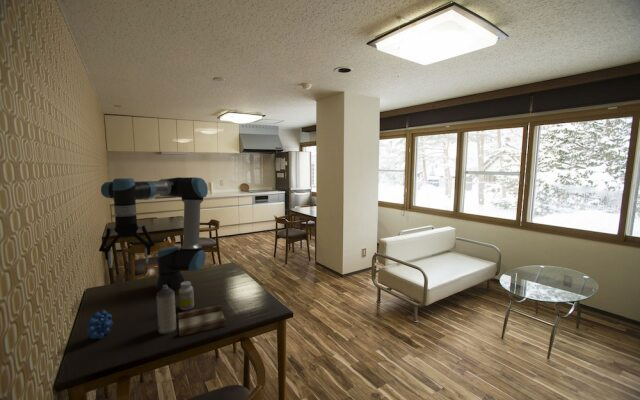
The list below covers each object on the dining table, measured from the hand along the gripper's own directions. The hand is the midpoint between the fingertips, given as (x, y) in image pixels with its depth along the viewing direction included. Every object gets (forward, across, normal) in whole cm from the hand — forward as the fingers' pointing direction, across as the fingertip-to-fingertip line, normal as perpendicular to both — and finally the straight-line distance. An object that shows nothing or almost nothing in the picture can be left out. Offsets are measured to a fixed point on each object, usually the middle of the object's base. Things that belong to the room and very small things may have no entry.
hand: (129, 264), depth 123 cm
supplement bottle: (+29, +22, +10) cm, 37 cm away
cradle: (+29, +27, -9) cm, 40 cm away
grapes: (+29, -10, -4) cm, 31 cm away
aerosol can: (+29, +13, -9) cm, 33 cm away
